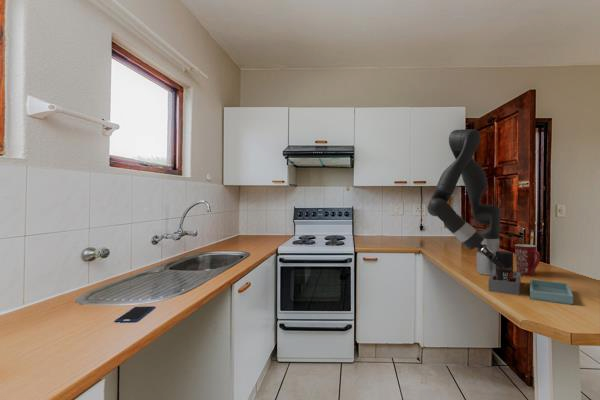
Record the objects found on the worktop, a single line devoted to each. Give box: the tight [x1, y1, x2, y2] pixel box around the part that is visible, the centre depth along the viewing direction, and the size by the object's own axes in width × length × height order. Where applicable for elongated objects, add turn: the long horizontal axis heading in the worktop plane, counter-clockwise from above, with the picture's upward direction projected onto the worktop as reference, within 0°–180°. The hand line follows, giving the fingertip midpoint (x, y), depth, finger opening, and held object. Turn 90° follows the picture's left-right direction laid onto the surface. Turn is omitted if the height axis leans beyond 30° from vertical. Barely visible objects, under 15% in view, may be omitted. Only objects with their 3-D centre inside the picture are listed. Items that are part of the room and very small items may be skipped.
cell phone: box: [113, 305, 156, 324], centre depth 105 cm, size 7×14×1 cm, turn 1°
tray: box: [529, 278, 574, 306], centre depth 122 cm, size 20×12×3 cm, turn 144°
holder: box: [488, 270, 522, 296], centre depth 134 cm, size 21×10×4 cm, turn 144°
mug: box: [513, 243, 541, 276], centre depth 155 cm, size 13×9×14 cm
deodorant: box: [495, 250, 514, 282], centre depth 129 cm, size 6×6×15 cm
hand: (500, 265), depth 129 cm, fingers open, 8 cm apart
